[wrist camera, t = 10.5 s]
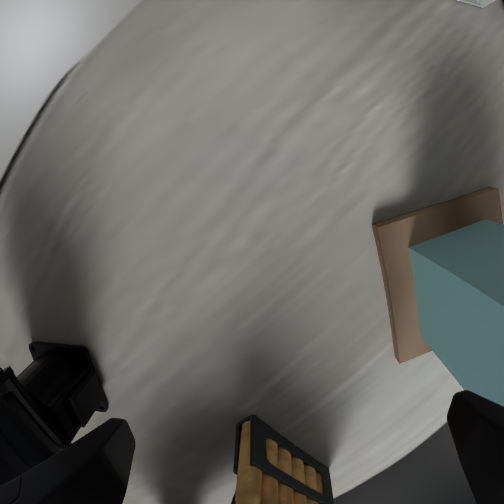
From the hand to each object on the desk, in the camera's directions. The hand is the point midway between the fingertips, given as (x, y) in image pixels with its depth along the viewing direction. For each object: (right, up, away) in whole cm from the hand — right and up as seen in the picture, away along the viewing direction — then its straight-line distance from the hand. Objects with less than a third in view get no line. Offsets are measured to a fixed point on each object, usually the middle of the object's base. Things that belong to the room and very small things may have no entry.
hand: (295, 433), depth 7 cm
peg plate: (+13, +3, +12) cm, 18 cm away
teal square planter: (+13, +3, +11) cm, 17 cm away
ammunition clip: (+2, -12, +17) cm, 21 cm away
